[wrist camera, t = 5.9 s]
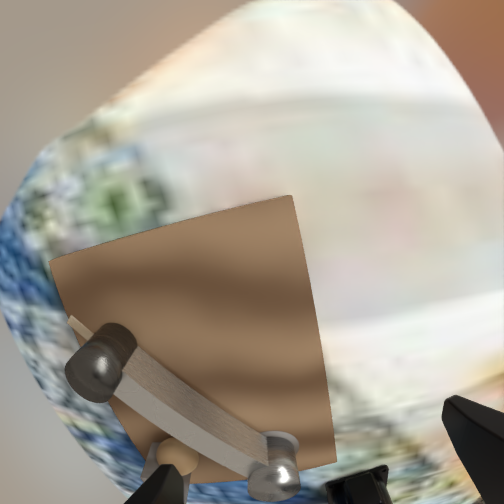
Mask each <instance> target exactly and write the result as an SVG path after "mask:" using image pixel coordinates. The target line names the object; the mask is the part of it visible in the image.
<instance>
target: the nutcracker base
mask: <svg viewBox="0 0 504 504" xmlns="http://www.w3.org/2000/svg"><path fill="white" fill-rule="evenodd" d="M48 262H49V265H50V268H51V271H52V274H53V277H54V280H55V283H56V286H57V289H58V292H59V295H60V298H61V300H62V303H63V306H64V308H65V311H66V314H67V316H68V322H67V323H68V324H69V325H70V326H71V327H72V328H73V331H74V333H75V335H76V338H77V340H78V342H79V345H80V347H82V346H83V345H84V344H85V343H86V342H87V340H88V339H89V338H90V337H91V336H92V335H93V334H94V333H95V332H96V331H97V330H98V329H99V328H100V327H101V326H102V325H104V324H106V323H118V324H121V325H123V326H124V327H126V328H127V329H128V330H130V331H131V333H132V334H133V335H134V337H135V338H136V341H137V344H138V346H139V347H140V348H141V349H142V350H143V351H145V352H146V353H147V354H148V355H149V356H151V357H152V358H153V359H154V360H156V361H157V362H158V363H159V364H161V365H162V366H163V367H164V368H166V369H167V370H168V371H169V372H171V373H172V374H173V375H175V376H176V377H177V378H179V379H180V380H181V381H183V382H184V383H185V384H187V385H188V386H189V387H191V388H192V389H193V390H195V391H196V392H198V393H199V394H200V395H202V396H203V397H205V398H206V399H208V400H209V401H210V402H212V403H213V404H215V405H216V406H218V407H219V408H221V409H222V410H224V411H225V412H227V413H228V414H230V415H231V416H233V417H234V418H236V419H238V420H239V421H241V422H242V423H244V424H245V425H247V426H249V427H250V428H252V429H254V430H255V431H257V432H259V433H260V434H262V435H264V436H265V437H281V438H285V439H287V440H289V441H290V442H291V443H292V444H293V445H294V449H295V455H296V461H297V467H298V471H302V470H306V469H311V468H315V467H319V466H323V465H327V464H331V463H335V462H337V456H336V447H335V439H334V430H333V422H332V415H331V407H330V400H329V393H328V386H327V379H326V372H325V366H324V359H323V353H322V347H321V341H320V335H319V329H318V323H317V317H316V312H315V306H314V301H313V295H312V290H311V284H310V279H309V274H308V269H307V264H306V259H305V254H304V249H303V244H302V239H301V234H300V230H299V225H298V220H297V216H296V211H295V207H294V202H293V198H292V195H287V196H282V197H278V198H273V199H269V200H265V201H260V202H256V203H252V204H248V205H244V206H239V207H235V208H231V209H227V210H223V211H219V212H215V213H211V214H207V215H203V216H199V217H196V218H192V219H188V220H184V221H180V222H177V223H173V224H169V225H165V226H162V227H158V228H155V229H151V230H147V231H144V232H140V233H137V234H133V235H130V236H126V237H123V238H119V239H116V240H113V241H109V242H106V243H102V244H99V245H96V246H93V247H89V248H86V249H83V250H80V251H76V252H73V253H70V254H67V255H64V256H61V257H58V258H55V259H53V260H51V261H48ZM108 402H109V404H110V406H111V407H112V409H113V411H114V413H115V414H116V416H117V418H118V419H119V421H120V423H121V424H122V426H123V428H124V429H125V431H126V432H127V434H128V435H129V437H130V439H131V440H132V442H133V443H134V445H135V446H136V448H137V449H138V451H139V452H140V453H141V455H142V456H143V458H144V459H145V461H146V462H145V465H144V468H143V471H142V474H141V477H140V478H141V479H142V481H143V482H145V481H146V480H147V479H148V478H149V477H150V475H151V474H152V473H153V472H154V471H155V470H156V469H157V468H158V467H159V466H160V465H161V464H173V465H174V466H175V467H176V468H177V470H178V471H179V473H180V474H181V476H182V477H183V480H184V504H186V501H187V495H188V489H189V484H195V483H215V482H228V481H238V480H247V479H248V478H247V477H245V476H243V475H241V474H239V473H237V472H235V471H233V470H231V469H229V468H227V467H225V466H223V465H221V464H219V463H217V462H215V461H214V460H212V459H210V458H208V457H206V456H205V455H203V454H201V453H199V452H198V451H196V450H194V449H192V448H191V447H189V446H187V445H186V444H184V443H183V442H181V441H179V440H178V439H176V438H175V437H173V436H171V435H170V434H168V433H167V432H165V431H164V430H162V429H161V428H159V427H158V426H156V425H155V424H153V423H152V422H150V421H149V420H148V419H146V418H145V417H143V416H142V415H141V414H139V413H138V412H136V411H135V410H134V409H132V408H131V407H130V406H128V405H127V404H126V403H124V402H123V401H122V400H120V399H119V398H118V397H117V396H115V395H114V394H113V395H112V397H111V398H110V399H109V400H108Z"/></svg>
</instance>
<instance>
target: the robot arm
mask: <svg viewBox="0 0 504 504" xmlns="http://www.w3.org/2000/svg"><path fill="white" fill-rule="evenodd" d="M442 421H443V424H444V426H445V428H446V430H447V432H448V435H449V437H450V439H451V441H452V444H453V446H454V448H455V451H456V453H457V455H458V457H459V458H460V460H461V462H462V463H463V465H464V467H465V469H466V470H467V472H468V474H469V475H470V477H471V479H472V481H473V482H474V484H475V486H476V488H477V490H478V491H479V493H480V495H481V497H482V499H483V500H484V502H485V504H504V413H503V412H500V411H497V410H495V409H492V408H489V407H487V406H484V405H481V404H479V403H476V402H474V401H471V400H468V399H466V398H463V397H461V396H458V395H453V396H451V397H449V398H447V399H446V400H445V401H444V406H443V411H442ZM388 471H389V468H388V466H387V465H384V466H381V467H378V468H375V469H372V470H369V471H366V472H363V473H360V474H356V475H353V476H350V477H346V478H343V479H339V480H335V481H331V482H328V483H327V484H326V491H327V497H328V504H393V503H392V501H391V498H390V496H389V493H388V491H387V488H386V486H387V478H388ZM124 504H184V480H183V477H182V476H181V474H180V473H179V471H178V470H177V468H176V467H175V466H174V465H173V464H161V465H160V466H159V467H158V468H157V469H156V470H155V471H154V472H153V473H152V474H151V475H150V477H149V478H148V479H147V480H146V481H145V482H144V483H143V484H142V485H141V486H140V487H139V488H138V489H137V490H136V491H135V492H134V493H133V494H132V496H131V497H130V498H129V499H128V500H127V501H126V502H125V503H124Z"/></svg>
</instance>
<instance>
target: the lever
mask: <svg viewBox="0 0 504 504" xmlns="http://www.w3.org/2000/svg"><path fill="white" fill-rule="evenodd" d="M65 375H66V378H67V380H68V382H69V384H70V386H71V387H72V388H73V389H74V391H75V392H76V393H78V394H79V395H80V396H81V397H83V398H85V399H86V400H89V401H91V402H95V403H104V402H107V401H108V400H109V399H110V398H111V397H112V395H113V394H114V395H115V396H117V397H118V398H119V399H120V400H122V401H123V402H124V403H126V404H127V405H128V406H130V407H131V408H132V409H134V410H135V411H136V412H138V413H139V414H141V415H142V416H143V417H145V418H146V419H148V420H149V421H150V422H152V423H153V424H155V425H156V426H158V427H159V428H161V429H162V430H164V431H165V432H167V433H168V434H170V435H171V436H173V437H175V438H176V439H178V440H179V441H181V442H183V443H184V444H186V445H187V446H189V447H191V448H192V449H194V450H196V451H198V452H199V453H201V454H203V455H205V456H206V457H208V458H210V459H212V460H214V461H215V462H217V463H219V464H221V465H223V466H225V467H227V468H229V469H231V470H233V471H235V472H237V473H239V474H241V475H243V476H245V477H247V478H248V493H249V495H250V496H251V497H253V498H255V499H257V500H260V501H267V502H275V501H282V500H286V499H289V498H291V497H293V496H295V495H296V494H297V493H298V492H299V491H300V488H301V485H300V479H299V473H298V467H297V461H296V455H295V449H294V445H293V444H292V443H291V442H290V441H289V440H287V439H285V438H281V437H265V436H264V435H262V434H260V433H259V432H257V431H255V430H254V429H252V428H250V427H249V426H247V425H245V424H244V423H242V422H241V421H239V420H238V419H236V418H234V417H233V416H231V415H230V414H228V413H227V412H225V411H224V410H222V409H221V408H219V407H218V406H216V405H215V404H213V403H212V402H210V401H209V400H208V399H206V398H205V397H203V396H202V395H200V394H199V393H198V392H196V391H195V390H193V389H192V388H191V387H189V386H188V385H187V384H185V383H184V382H183V381H181V380H180V379H179V378H177V377H176V376H175V375H173V374H172V373H171V372H169V371H168V370H167V369H166V368H164V367H163V366H162V365H161V364H159V363H158V362H157V361H156V360H154V359H153V358H152V357H151V356H149V355H148V354H147V353H146V352H145V351H143V350H142V349H141V348H140V347H139V346H138V344H137V341H136V338H135V337H134V335H133V334H132V333H131V331H130V330H128V329H127V328H126V327H124V326H123V325H121V324H118V323H106V324H104V325H102V326H101V327H100V328H99V329H98V330H97V331H96V332H95V333H94V334H93V335H92V336H91V337H90V338H89V339H88V340H87V342H86V343H85V344H84V345H83V346H82V347H81V348H80V349H79V350H78V351H77V352H76V353H75V354H74V355H73V356H72V357H71V358H70V360H69V361H68V362H67V363H66V366H65Z"/></svg>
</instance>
